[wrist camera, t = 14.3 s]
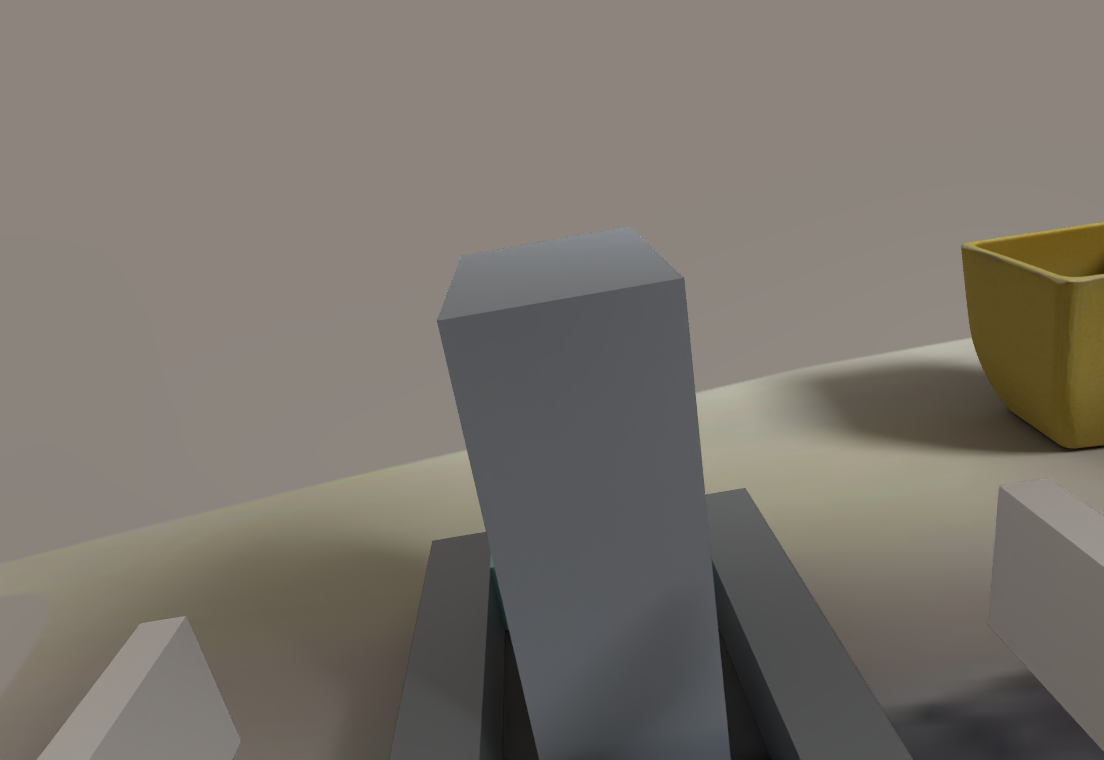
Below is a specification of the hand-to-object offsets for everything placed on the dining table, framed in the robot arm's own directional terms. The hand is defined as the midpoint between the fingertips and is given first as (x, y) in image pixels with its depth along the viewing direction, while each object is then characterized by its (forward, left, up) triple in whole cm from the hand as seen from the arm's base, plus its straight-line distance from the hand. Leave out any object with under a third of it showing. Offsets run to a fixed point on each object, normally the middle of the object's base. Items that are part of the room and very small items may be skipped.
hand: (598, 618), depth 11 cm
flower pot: (-25, -21, -11) cm, 34 cm away
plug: (0, -8, -11) cm, 13 cm away
